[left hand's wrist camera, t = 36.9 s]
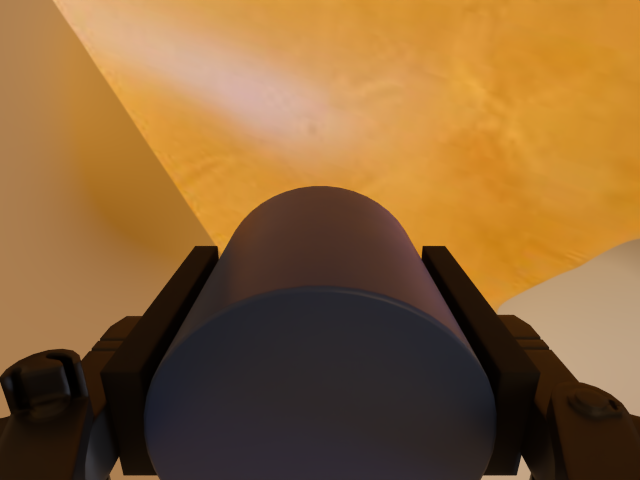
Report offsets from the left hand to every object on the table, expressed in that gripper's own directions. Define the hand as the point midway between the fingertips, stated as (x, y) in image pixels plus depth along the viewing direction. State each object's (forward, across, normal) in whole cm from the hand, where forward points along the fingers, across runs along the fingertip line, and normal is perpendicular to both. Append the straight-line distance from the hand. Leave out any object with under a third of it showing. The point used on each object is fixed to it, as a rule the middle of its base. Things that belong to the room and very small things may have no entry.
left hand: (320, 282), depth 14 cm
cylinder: (0, 0, 0) cm, 0 cm away
